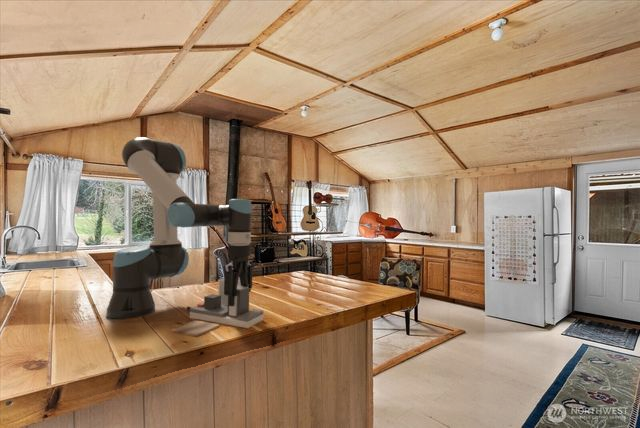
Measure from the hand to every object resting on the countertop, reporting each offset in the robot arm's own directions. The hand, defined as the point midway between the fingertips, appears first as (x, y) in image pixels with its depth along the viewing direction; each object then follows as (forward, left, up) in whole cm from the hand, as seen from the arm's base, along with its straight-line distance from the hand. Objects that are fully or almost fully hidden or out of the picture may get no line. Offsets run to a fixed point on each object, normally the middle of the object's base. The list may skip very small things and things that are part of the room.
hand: (238, 312), depth 110 cm
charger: (0, 0, -1) cm, 1 cm away
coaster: (-7, -12, -3) cm, 14 cm away
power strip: (-5, 0, -3) cm, 6 cm away
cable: (-21, +2, -3) cm, 21 cm away
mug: (-13, +12, -3) cm, 18 cm away
